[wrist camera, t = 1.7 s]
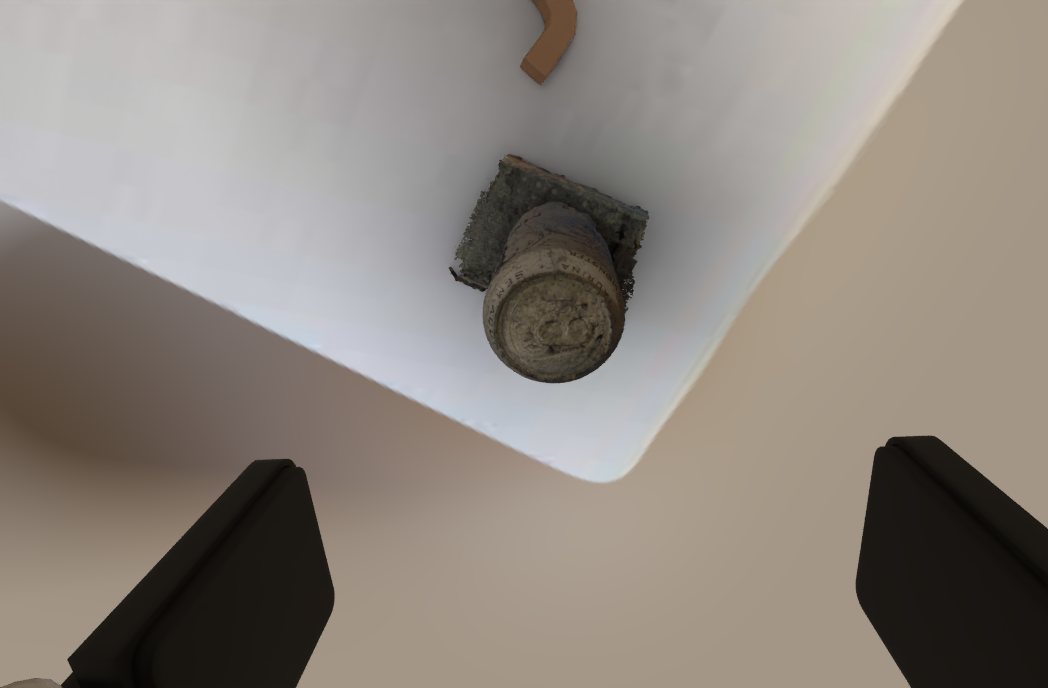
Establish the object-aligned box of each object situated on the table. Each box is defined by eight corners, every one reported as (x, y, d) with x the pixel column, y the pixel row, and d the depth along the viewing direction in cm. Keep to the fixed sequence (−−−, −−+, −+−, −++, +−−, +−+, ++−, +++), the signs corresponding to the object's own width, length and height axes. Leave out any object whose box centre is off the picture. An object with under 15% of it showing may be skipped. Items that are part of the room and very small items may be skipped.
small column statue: (661, 183, 26) (712, 245, 15) (619, 336, 29) (637, 478, 18) (467, 143, 27) (381, 176, 16) (446, 299, 30) (362, 417, 19)
